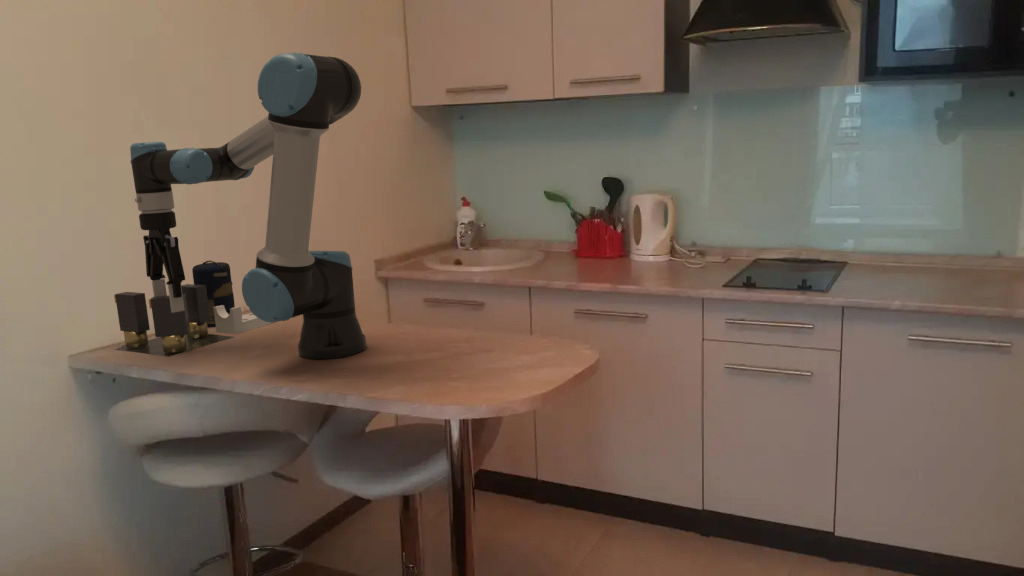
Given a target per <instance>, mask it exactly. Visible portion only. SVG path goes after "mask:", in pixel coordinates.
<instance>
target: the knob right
mask: <svg viewBox="0 0 1024 576" xmlns="http://www.w3.org/2000/svg"><path fill="white" fill-rule="evenodd" d="M181 287H182V294H185V295H186V303H187V310H188V318H189V326H190V332H189V334H187V337H188V338H199V337H204V336H207V335H208V334H209V329H208V328H209V327H207V322H208V321H210V314H209V306H208V298H207V290H206V285H194V284H190V283H189V284H188V283H186V284H181Z"/></svg>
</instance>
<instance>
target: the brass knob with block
mask: <svg viewBox="0 0 1024 576" xmlns="http://www.w3.org/2000/svg"><path fill="white" fill-rule="evenodd" d="M113 296H114V303H115V304H116V309H117V310H116V311H117V318H118V323H119V329H120V330H119V331H120V332H121V331H122V332H123V336H124V344H125V346H126V347H127V348H135V347H141V346H145V345H148V340H149V337H148V332H147V331H150V330H151V328H150V322H149V314H148V307H147V299H146V293H145V292H135V291H134V292H133V291H132V292H131V291H124V292H119V293H114V294H113Z"/></svg>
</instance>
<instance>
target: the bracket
mask: <svg viewBox="0 0 1024 576" xmlns="http://www.w3.org/2000/svg"><path fill="white" fill-rule="evenodd" d="M213 308H214V316H215V324H216V327H215V329H216V330H215V331H216V332H217V333H221V334H223V333H224V334H232V335H237V334H240V333H244V332H246V331H251V330H254V329H257V328H262V327H264V326H269V325H272V324H274V323H275V322H265V321H263V320H261V319H259V318H257V317H256V316H255V315H254V314H253V313H252V312H250V313H246V314H242V307H241V306H235V307H234V308H230V314H228V313H227V312H226V310H225V307H224V305H221V306H216V307H213ZM216 332H215V333H216Z"/></svg>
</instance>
